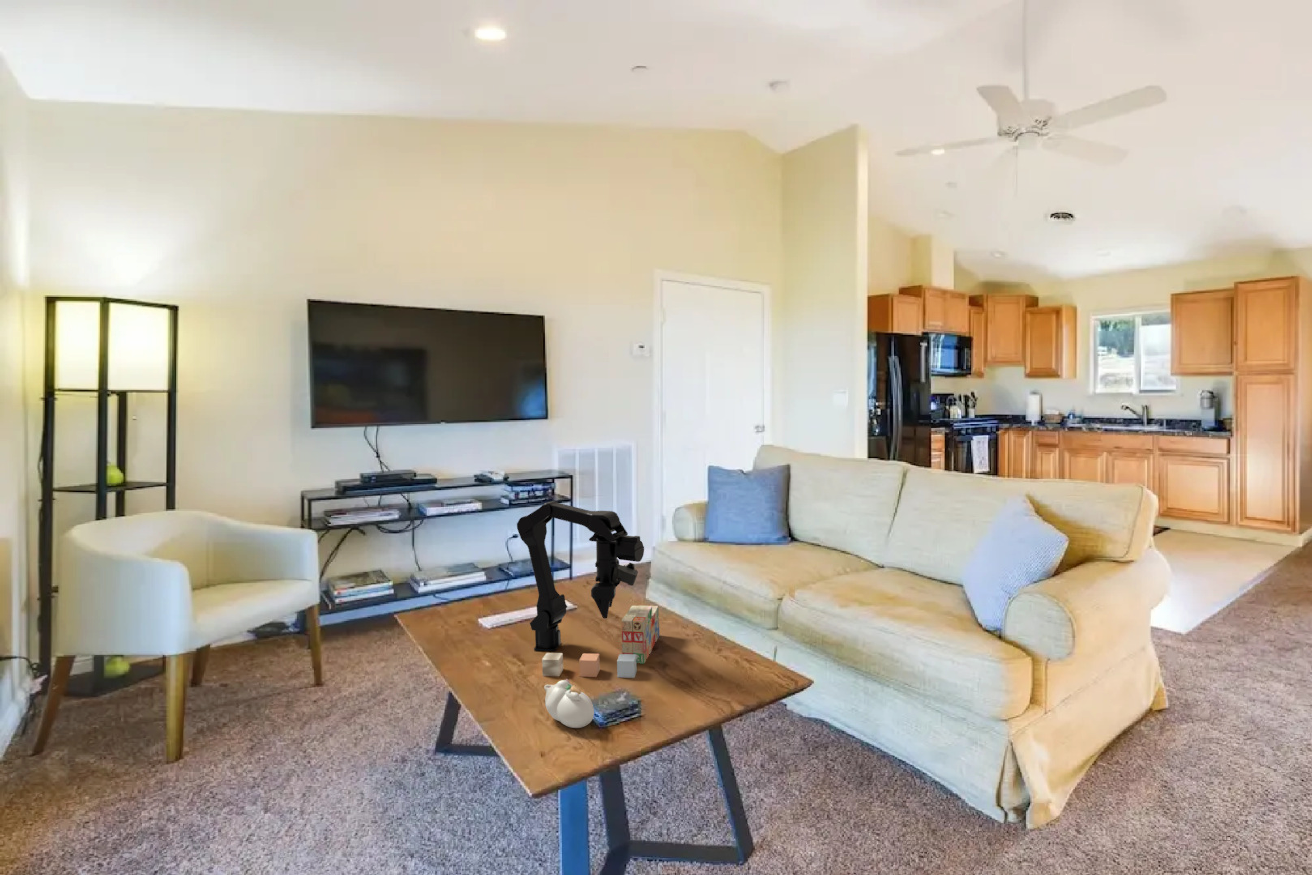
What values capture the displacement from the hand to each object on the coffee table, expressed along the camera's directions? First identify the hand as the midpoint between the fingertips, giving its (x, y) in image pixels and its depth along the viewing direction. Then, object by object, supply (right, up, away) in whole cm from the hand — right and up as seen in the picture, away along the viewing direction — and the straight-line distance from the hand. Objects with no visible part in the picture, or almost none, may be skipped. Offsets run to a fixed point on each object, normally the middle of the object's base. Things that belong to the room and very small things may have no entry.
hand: (607, 612), depth 185 cm
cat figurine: (-6, -16, -33) cm, 38 cm away
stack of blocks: (+9, -13, +7) cm, 17 cm away
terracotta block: (-4, -14, -9) cm, 17 cm away
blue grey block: (+6, -14, -10) cm, 18 cm away
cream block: (-14, -14, -8) cm, 21 cm away
